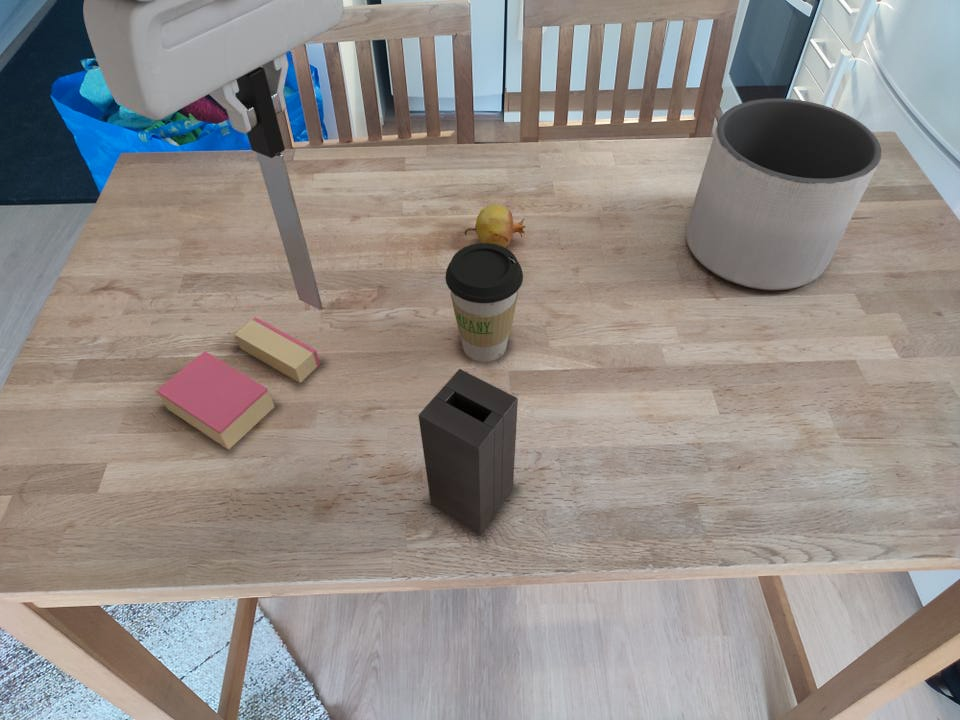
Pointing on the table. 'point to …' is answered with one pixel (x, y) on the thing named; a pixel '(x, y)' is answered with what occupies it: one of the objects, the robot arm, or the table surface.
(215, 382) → the cake
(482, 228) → the fruit
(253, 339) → the cake slice
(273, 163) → the knife
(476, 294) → the coffee cup
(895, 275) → the table surface
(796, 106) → the planter
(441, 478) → the knife block
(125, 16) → the robot arm
